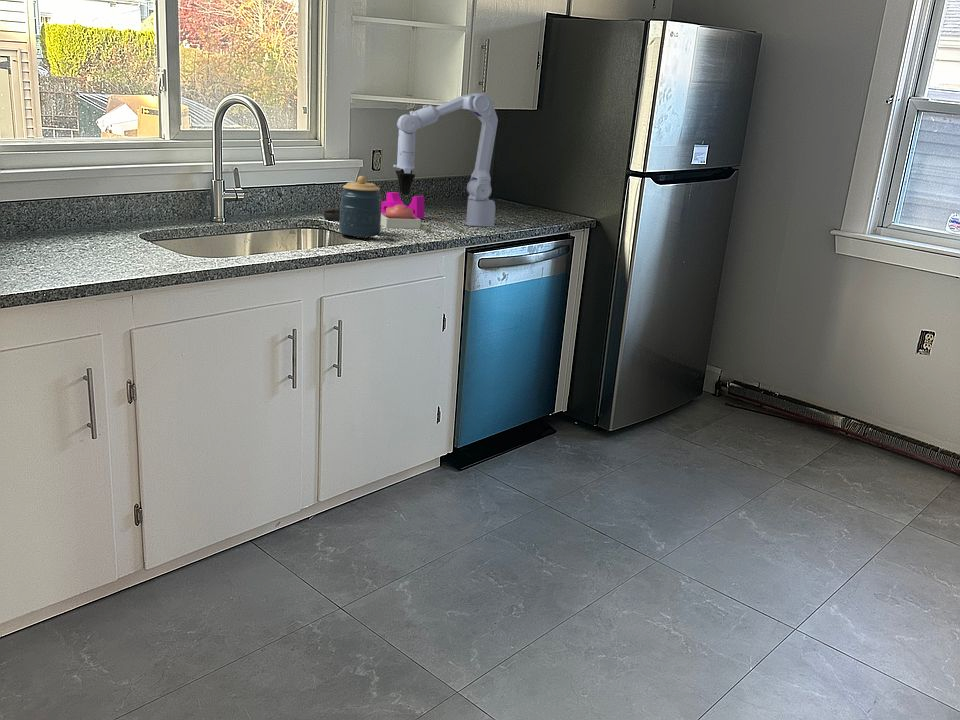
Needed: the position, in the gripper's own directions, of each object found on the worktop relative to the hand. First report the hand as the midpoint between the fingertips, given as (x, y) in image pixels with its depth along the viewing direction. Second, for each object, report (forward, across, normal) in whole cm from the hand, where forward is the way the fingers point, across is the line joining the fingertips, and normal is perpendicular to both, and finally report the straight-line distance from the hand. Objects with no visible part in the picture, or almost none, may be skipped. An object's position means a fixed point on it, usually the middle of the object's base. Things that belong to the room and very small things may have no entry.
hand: (404, 193), depth 296 cm
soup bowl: (+13, -3, -21) cm, 25 cm away
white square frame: (+10, +4, -2) cm, 11 cm away
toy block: (+10, -14, +1) cm, 17 cm away
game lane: (+10, -3, +10) cm, 15 cm away
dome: (+10, +4, -2) cm, 11 cm away
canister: (+10, +24, -16) cm, 31 cm away
